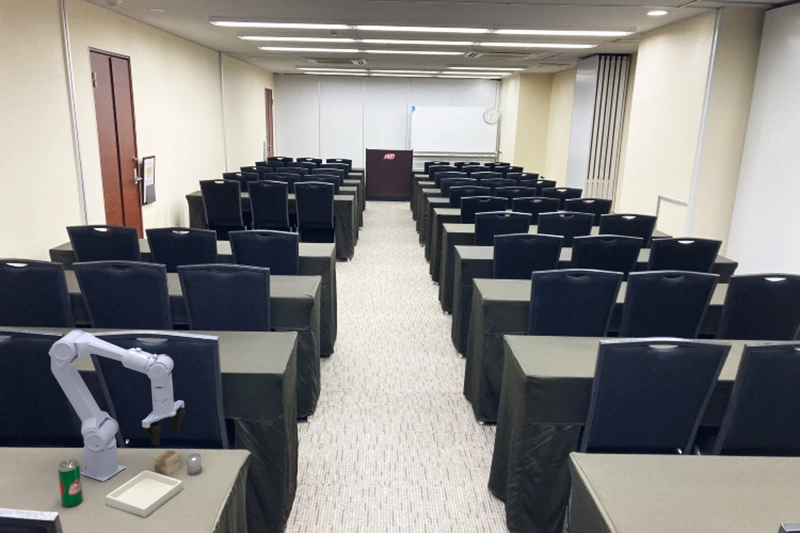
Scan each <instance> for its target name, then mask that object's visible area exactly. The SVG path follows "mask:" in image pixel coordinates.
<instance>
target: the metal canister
mask: <svg viewBox="0 0 800 533" xmlns="http://www.w3.org/2000/svg"><path fill="white" fill-rule="evenodd" d="M186 465H187V466H186V467H187V468H186V470H187V475H188V476H190V477H192V476H193V477H194V476H195V477H196V476H199V474H200V475H201V473H202V455H201V454H200V453H192V454H189V455H188V456H186Z"/></svg>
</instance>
